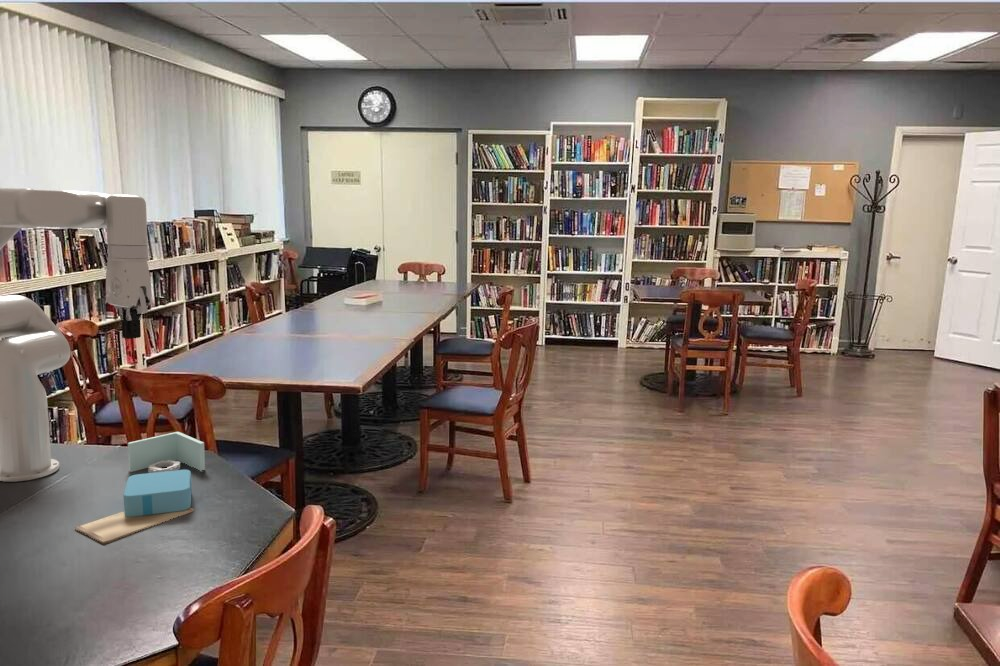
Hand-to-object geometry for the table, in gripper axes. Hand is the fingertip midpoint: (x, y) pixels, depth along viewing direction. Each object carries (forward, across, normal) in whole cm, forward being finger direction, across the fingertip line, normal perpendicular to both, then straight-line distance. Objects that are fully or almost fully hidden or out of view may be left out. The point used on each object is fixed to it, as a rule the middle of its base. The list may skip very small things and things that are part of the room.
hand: (131, 337), depth 145 cm
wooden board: (+33, +18, -11) cm, 39 cm away
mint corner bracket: (+34, -1, +8) cm, 35 cm away
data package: (+30, +12, -9) cm, 34 cm away
